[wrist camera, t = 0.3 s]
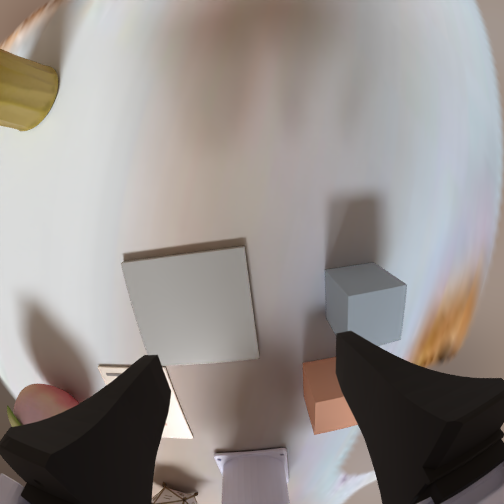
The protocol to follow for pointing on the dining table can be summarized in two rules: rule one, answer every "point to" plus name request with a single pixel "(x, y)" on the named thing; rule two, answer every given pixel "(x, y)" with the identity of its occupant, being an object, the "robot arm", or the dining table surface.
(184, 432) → the card
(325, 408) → the brick terracotta
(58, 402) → the decorative fruit
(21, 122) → the vase
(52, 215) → the dining table surface
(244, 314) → the plate
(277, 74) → the dining table surface
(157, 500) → the game die
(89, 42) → the dining table surface
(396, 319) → the brick blue
